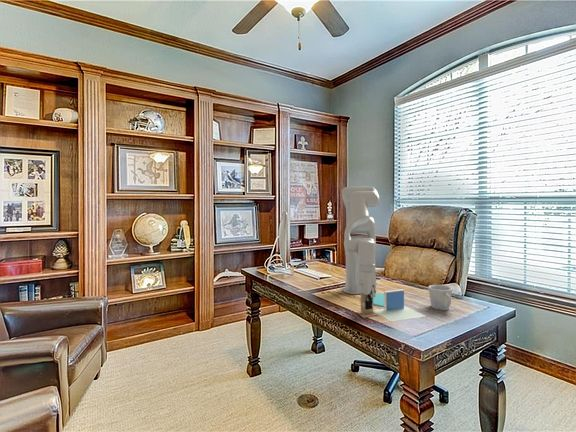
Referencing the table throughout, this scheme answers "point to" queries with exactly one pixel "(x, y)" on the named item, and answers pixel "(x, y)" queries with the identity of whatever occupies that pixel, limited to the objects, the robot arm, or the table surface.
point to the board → (399, 314)
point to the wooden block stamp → (363, 311)
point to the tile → (393, 300)
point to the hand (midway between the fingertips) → (367, 307)
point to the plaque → (378, 300)
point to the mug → (440, 296)
